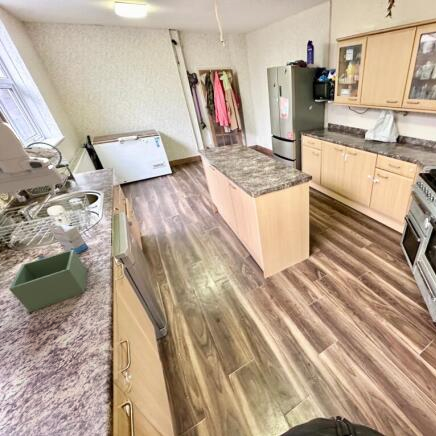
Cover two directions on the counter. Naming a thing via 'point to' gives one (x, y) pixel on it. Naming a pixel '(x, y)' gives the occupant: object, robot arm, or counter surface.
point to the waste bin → (49, 280)
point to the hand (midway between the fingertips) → (38, 198)
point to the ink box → (68, 238)
